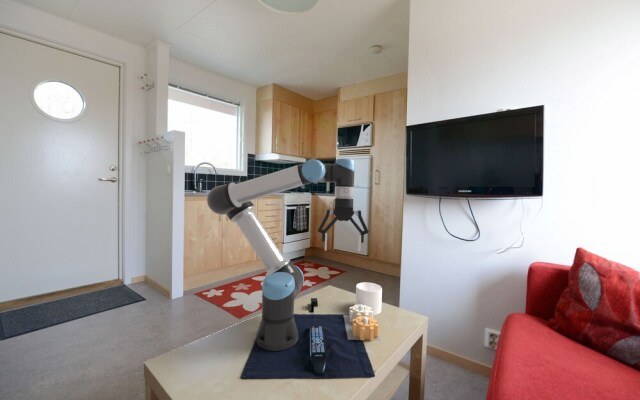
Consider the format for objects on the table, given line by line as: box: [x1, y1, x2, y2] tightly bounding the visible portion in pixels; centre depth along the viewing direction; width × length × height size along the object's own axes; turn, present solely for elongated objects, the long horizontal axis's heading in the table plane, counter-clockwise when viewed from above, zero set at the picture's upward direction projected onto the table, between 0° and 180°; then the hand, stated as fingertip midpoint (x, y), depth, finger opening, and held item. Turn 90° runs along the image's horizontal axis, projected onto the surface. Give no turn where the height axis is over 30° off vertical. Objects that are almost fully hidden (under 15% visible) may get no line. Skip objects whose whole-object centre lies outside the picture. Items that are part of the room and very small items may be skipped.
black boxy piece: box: [307, 297, 319, 314], centre depth 127 cm, size 12×7×5 cm, turn 8°
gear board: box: [343, 305, 381, 341], centre depth 108 cm, size 12×19×8 cm, turn 0°
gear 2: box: [352, 316, 380, 342], centre depth 102 cm, size 10×10×5 cm
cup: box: [355, 281, 383, 316], centre depth 124 cm, size 12×12×12 cm
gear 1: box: [348, 303, 374, 323], centre depth 113 cm, size 10×10×5 cm
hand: (342, 250), depth 109 cm, fingers open, 13 cm apart
